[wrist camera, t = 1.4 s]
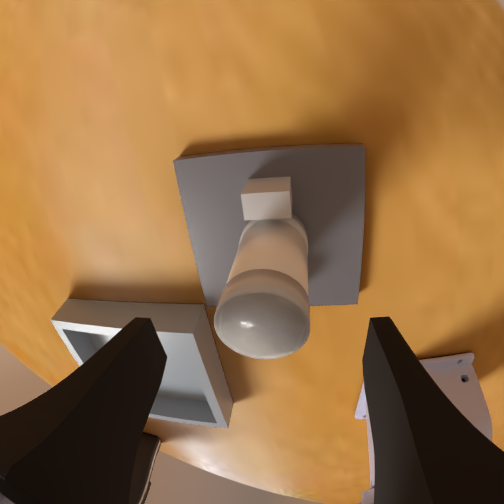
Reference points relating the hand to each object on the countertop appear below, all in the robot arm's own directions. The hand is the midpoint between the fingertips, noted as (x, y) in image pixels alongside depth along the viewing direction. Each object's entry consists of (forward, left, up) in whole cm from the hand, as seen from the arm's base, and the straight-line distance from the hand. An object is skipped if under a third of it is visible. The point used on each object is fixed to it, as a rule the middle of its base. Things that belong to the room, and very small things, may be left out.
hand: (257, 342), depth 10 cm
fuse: (0, 0, -7) cm, 7 cm away
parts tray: (+11, +11, -8) cm, 18 cm away
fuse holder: (0, 0, -8) cm, 8 cm away
